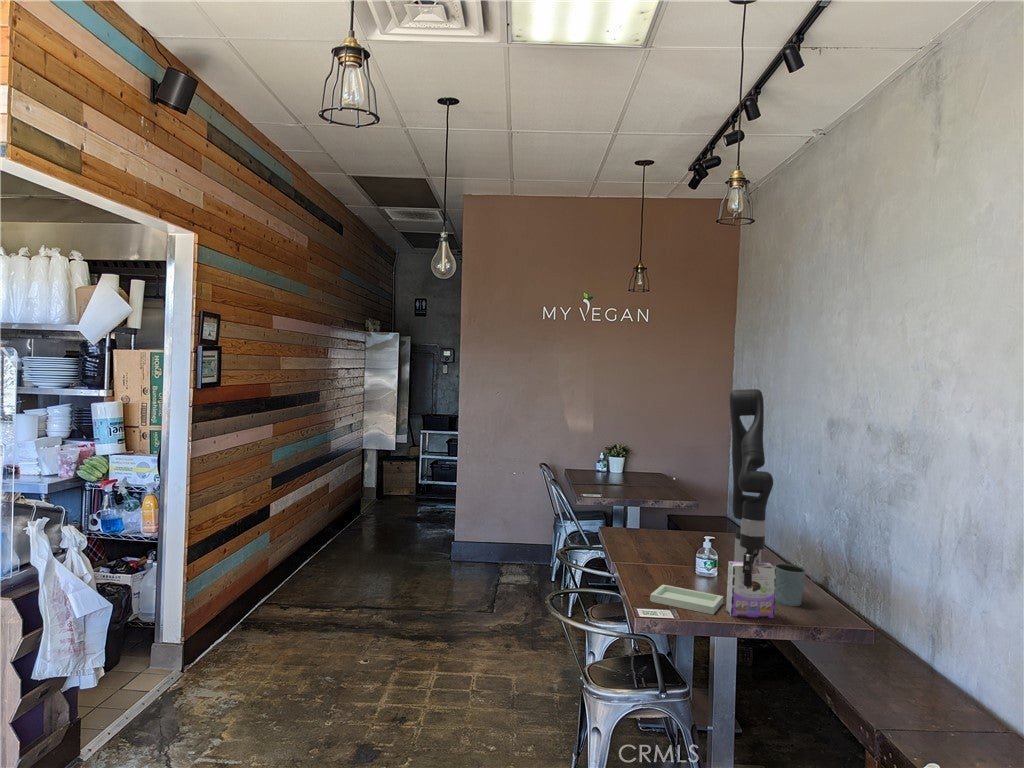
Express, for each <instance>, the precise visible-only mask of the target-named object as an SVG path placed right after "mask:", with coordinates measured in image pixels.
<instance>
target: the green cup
mask: <svg viewBox="0 0 1024 768" xmlns="http://www.w3.org/2000/svg"><path fill="white" fill-rule="evenodd" d="M773 566H774V567H776V581H775V603H778V604H779V605H783V606H787V605H788V607H798V606H801V605H802V600H803V599H802V598H803V590H804V585H805V579H806V573H807V570H806V569H805V568H804V567H802V566H799V565H796V564H790V563H776V564H774V565H773Z"/></svg>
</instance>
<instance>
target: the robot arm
mask: <svg viewBox="0 0 1024 768" xmlns="http://www.w3.org/2000/svg"><path fill="white" fill-rule="evenodd" d="M729 394H730V395H729V410H730V411H729V412H730V423H731V461H732V475H733V476H732V477H733V479H732V481H733V484H732V485H733V486H732V487H733V488H732V514H733V517H734V518H735V519H737V520H741V523H740V528H738V529H736V530H735V537H734V557H733V558H734V559H733V561H734V562H743V571H742V572H743V573H744V586H747V587H751V585H752V574H753V569H755V565H756V563H762V562H761V560H762V550H764V549H765V547H766V546H765V545H766V529H767V528H766V513H767V512H766V511H767V505H768V504H767V503H768V502H769V501H768V500H769V498H770V494H771V492H772V489H773V486H774V478H773V475H772V473H770V472H768V471H759V470H758V469H761V468H762V467H764V466H765V463H766V462H765V461H766V459H765V450H764V449H765V447H764V424H765V423H764V422H765V421H764V417H765V415H764V412H765V409H764V408H765V407H764V406H765V403H764V395H763V392H762V391H761V389H757V388H750V389H733V390H732V391H731V392H730V393H729ZM747 416H749V417H750V416H754V418H753V421H752V423H751V425H750V426H749V428H748V430H747V429H746V428H745V425H744V424H743V422H742V420H741V417H747ZM743 493H752V494H753V493H754V494H759V495H757V496H755V495H749V494H748V495H747V494H743ZM747 567H748V568H749V570H746V568H747Z"/></svg>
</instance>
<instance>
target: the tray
mask: <svg viewBox="0 0 1024 768" xmlns="http://www.w3.org/2000/svg"><path fill="white" fill-rule="evenodd" d="M650 601H651V602H650ZM649 602H650V603H656V604H660V605H665V606H669V607H675V608H679V609H684V610H689V611H694V612H699V613H705V614H708V615H715V613H717V611H718V609H720V608H721V606H722V605H723V604H724V596H723V595H718V594H714V593H708V592H703V591H699V590H695V589H694V590H692V589H689V588H688V589H687V588H683V587H677V586H672V585H667V584H661V585H660V586H659V587H658V588H657V589H655V590H654V591H652V593H650V597H649Z"/></svg>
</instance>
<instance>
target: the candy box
mask: <svg viewBox="0 0 1024 768" xmlns="http://www.w3.org/2000/svg"><path fill="white" fill-rule="evenodd" d="M727 564H728V565H727V583H726V587H727V589H726V602H725V611H726V612H727V613H728V615H729V616H730V617H736V618H737V617H741V618H759V617H761V619H763V618H766V619H774V618H775V608H776V607H775V603H776V601H775V581H776V567H774V565H772V563H770V562H761V563H756V565H755V569H753V574H752V585H751V587H747V586H744V573H743V572H742V571H743V562H734V560H733V561H731V560H729V561H728V562H727ZM746 570H749V568H748V567H747V568H746Z"/></svg>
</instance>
